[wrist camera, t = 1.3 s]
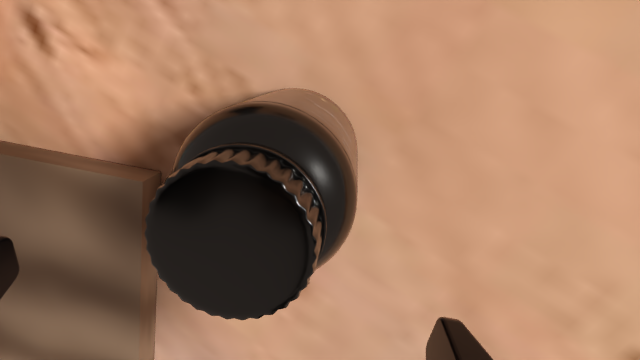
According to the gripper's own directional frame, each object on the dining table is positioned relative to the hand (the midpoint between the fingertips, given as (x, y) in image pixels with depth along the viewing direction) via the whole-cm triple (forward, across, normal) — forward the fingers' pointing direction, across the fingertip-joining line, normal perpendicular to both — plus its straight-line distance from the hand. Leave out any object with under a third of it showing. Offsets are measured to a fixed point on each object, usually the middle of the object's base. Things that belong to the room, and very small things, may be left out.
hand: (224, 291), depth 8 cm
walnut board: (+13, +16, +14) cm, 24 cm away
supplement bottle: (+14, 0, +3) cm, 14 cm away
